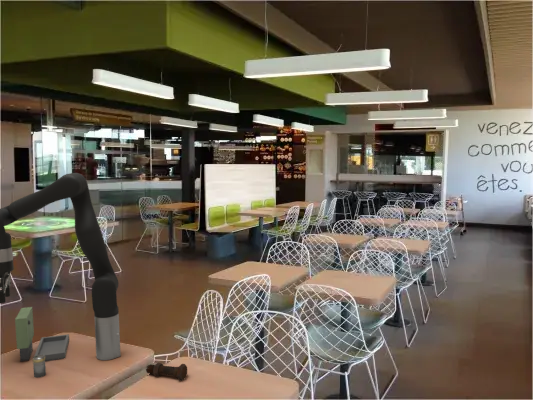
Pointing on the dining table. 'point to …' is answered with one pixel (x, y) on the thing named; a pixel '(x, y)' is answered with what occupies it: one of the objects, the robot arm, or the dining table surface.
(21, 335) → the control unit
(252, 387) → the dining table surface
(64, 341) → the parts tray
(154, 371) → the bolt
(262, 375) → the dining table surface
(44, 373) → the pin
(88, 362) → the dining table surface
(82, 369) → the dining table surface
